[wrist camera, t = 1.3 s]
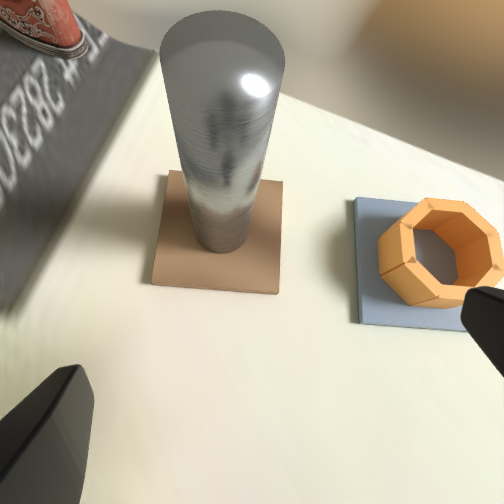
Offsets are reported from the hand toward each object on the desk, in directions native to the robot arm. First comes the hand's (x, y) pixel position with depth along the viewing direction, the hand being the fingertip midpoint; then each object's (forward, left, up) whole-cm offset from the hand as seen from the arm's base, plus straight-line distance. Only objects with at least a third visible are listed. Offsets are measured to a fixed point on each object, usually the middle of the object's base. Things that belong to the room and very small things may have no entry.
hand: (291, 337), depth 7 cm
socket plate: (+7, -12, -13) cm, 19 cm away
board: (+8, +2, -13) cm, 16 cm away
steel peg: (+8, +2, -13) cm, 15 cm away
